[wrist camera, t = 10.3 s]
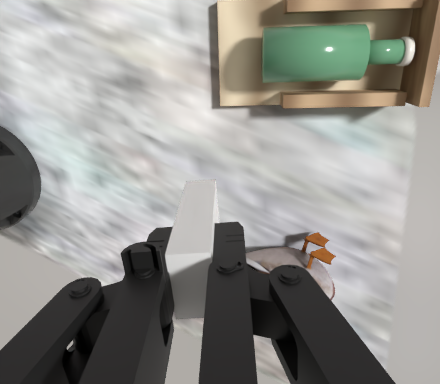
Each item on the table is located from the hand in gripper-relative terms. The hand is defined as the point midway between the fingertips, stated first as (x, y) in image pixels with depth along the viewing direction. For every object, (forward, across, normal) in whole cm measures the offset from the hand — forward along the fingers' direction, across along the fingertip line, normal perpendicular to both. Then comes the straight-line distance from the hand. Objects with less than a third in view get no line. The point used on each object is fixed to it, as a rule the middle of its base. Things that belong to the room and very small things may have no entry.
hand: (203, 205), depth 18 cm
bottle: (+23, +5, +6) cm, 25 cm away
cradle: (+27, +12, +5) cm, 30 cm away
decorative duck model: (+27, +8, -24) cm, 37 cm away
